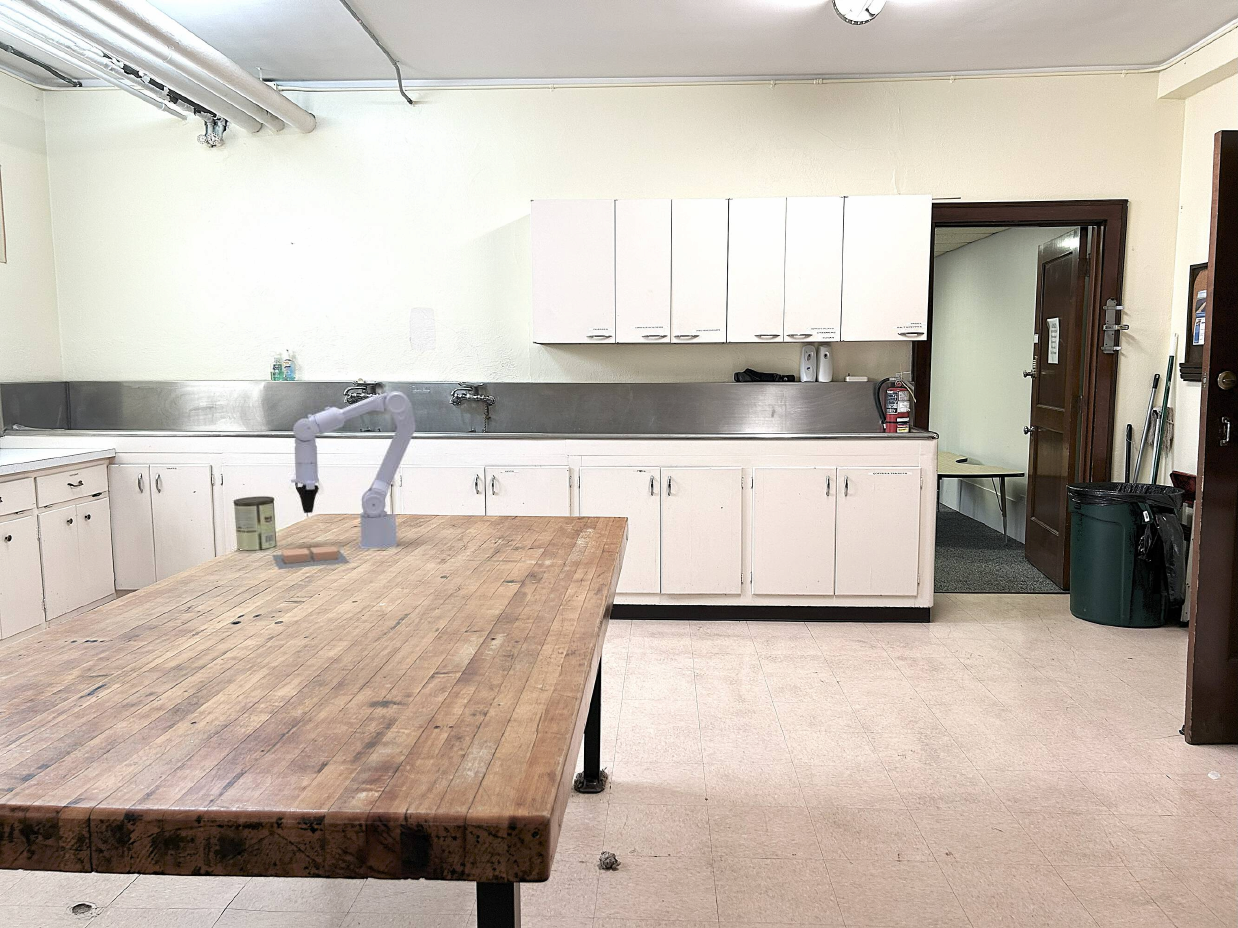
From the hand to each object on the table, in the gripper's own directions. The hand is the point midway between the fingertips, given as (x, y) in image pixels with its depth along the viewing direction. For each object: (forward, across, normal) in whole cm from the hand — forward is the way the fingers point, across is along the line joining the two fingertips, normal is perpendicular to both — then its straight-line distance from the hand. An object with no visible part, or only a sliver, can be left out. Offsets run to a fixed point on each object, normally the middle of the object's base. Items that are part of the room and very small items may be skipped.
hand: (308, 512), depth 241 cm
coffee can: (+10, -6, -13) cm, 18 cm away
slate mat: (+10, +14, -2) cm, 17 cm away
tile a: (+9, +11, +2) cm, 14 cm away
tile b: (+9, +11, -5) cm, 15 cm away
